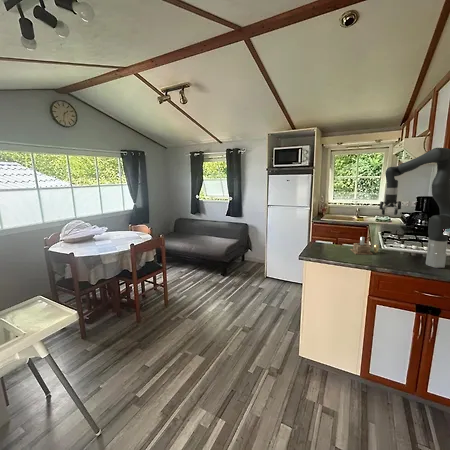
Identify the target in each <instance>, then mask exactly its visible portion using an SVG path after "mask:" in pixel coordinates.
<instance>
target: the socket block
mask: <svg viewBox="0 0 450 450" xmlns="http://www.w3.org/2000/svg"><path fill="white" fill-rule="evenodd" d="M352 246H353V248H350V251H351V252H352V253H353V254H355V255H366V256H367V255H374V252H372V251H371V246H370V245H369V244H368V243H366V242H364V246H360V242H358V243H357V242H355V243H353V245H352Z"/></svg>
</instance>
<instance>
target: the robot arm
mask: <svg viewBox="0 0 450 450" xmlns="http://www.w3.org/2000/svg"><path fill="white" fill-rule="evenodd" d="M432 163H434V164H436V167H437V168H436V174H435V176H434V178H433V180H432V182H431V195H432V199H434V201H435V203H436V204H437V206H438V209H439V214H435V215H432V216H431V217H430V218H429V221H428V225H427V227H428V228H427V229H428V230H427V234H428V240H427V241H428V242H427V249H426V258H425V265H426V266H429V267H432V268H437V269H438V268H442V269H444V268H446V267H445V266H446V260H447V247H448V238H449V237H448V235H445V234H444V233H443V230H450V148H449V147H435V148H432V149H430V150H428V151H427V152H425V153H423V154H422V155H419V156H417V157H415V158H413V159H410V160H407V161H405V162H402V163H401V164H399V165H398V166H389V167H387V168H386V170H385V173H384V174H385V175H384V176H385V179H386V189H385V198H384V201H380V202H379V210H381V215H383V216H385V214H386V213H385V212H386V209H388V208H393V210H394V212H393V215H394V216H397V215H398V211H399V210H401V209H402V201H399V200H398V191H399V190H398V187H399V180H398V179H396V178H395V177H399V176H401V175H404V174H405V173H408V172H409V173H410V172H412V171H414V170H416V169H418V168H419V167H421V166H423V165H427V164H432ZM397 200H398V201H397Z"/></svg>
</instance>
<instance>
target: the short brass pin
mask: <svg viewBox="0 0 450 450" xmlns="http://www.w3.org/2000/svg"><path fill="white" fill-rule="evenodd" d="M379 247H380V246H379V244H377V243H376V244H374V245H373V254H379Z"/></svg>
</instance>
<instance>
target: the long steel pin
mask: <svg viewBox="0 0 450 450" xmlns="http://www.w3.org/2000/svg"><path fill="white" fill-rule="evenodd" d="M365 239H366V237H364V236H360V239H359V243H360V246H364V243H365V241H366V240H365Z"/></svg>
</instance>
